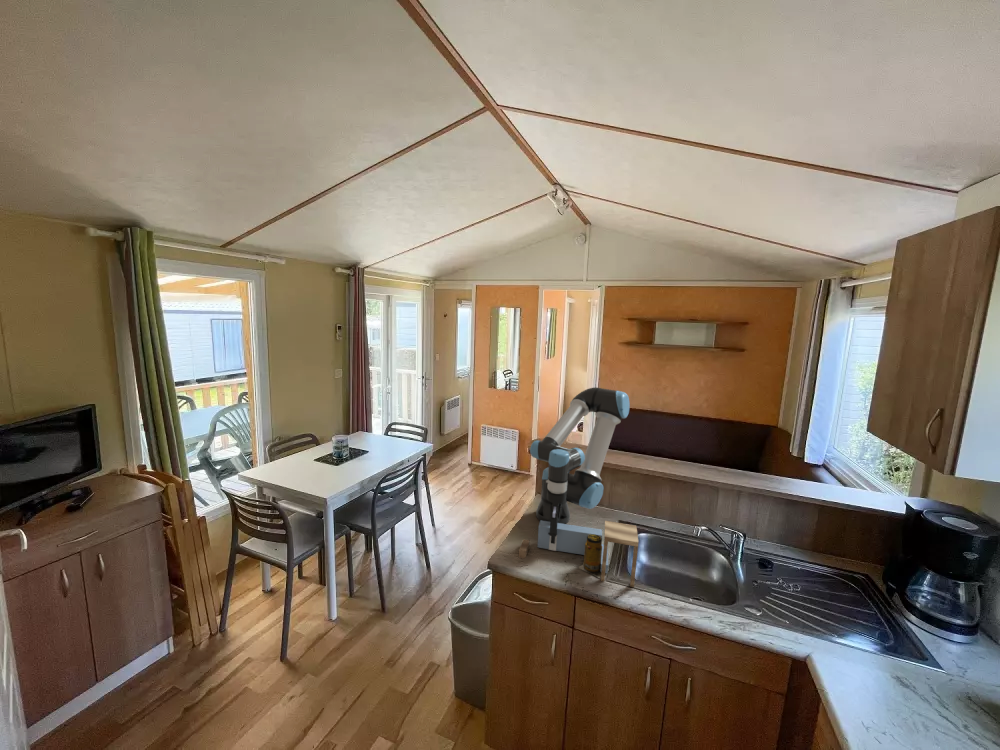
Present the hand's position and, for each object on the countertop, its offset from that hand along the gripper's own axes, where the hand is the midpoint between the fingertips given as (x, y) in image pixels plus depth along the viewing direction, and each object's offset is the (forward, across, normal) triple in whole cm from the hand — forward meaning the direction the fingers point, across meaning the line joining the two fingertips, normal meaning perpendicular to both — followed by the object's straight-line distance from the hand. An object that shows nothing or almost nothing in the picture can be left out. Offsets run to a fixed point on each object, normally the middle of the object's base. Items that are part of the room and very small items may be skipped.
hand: (553, 545), depth 162 cm
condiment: (+1, +9, +16) cm, 18 cm away
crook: (0, +4, +7) cm, 9 cm away
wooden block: (+1, +6, -10) cm, 12 cm away
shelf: (+1, +10, +24) cm, 26 cm away
